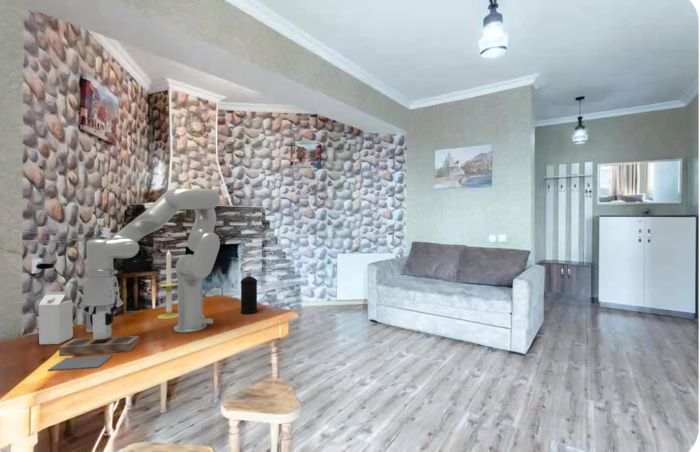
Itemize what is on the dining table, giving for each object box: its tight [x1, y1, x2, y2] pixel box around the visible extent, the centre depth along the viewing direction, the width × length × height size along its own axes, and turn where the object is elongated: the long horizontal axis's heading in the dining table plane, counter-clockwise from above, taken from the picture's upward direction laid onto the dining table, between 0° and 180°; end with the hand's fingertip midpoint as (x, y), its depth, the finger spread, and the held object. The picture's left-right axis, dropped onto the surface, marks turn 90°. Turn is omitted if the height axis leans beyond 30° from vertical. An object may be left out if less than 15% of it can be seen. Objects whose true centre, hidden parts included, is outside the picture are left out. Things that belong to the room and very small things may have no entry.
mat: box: [47, 354, 113, 372], centre depth 113 cm, size 14×9×1 cm, turn 100°
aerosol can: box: [239, 271, 258, 315], centre depth 174 cm, size 8×8×20 cm
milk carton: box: [38, 291, 74, 345], centre depth 133 cm, size 7×7×19 cm
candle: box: [157, 249, 178, 320], centre depth 167 cm, size 10×10×32 cm
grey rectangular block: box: [92, 311, 112, 340], centre depth 125 cm, size 4×4×9 cm
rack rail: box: [58, 335, 140, 357], centre depth 125 cm, size 22×8×3 cm, turn 100°
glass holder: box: [85, 306, 107, 333], centre depth 150 cm, size 9×14×15 cm, turn 9°
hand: (102, 323), depth 125 cm, fingers closed on grey rectangular block, 4 cm apart
